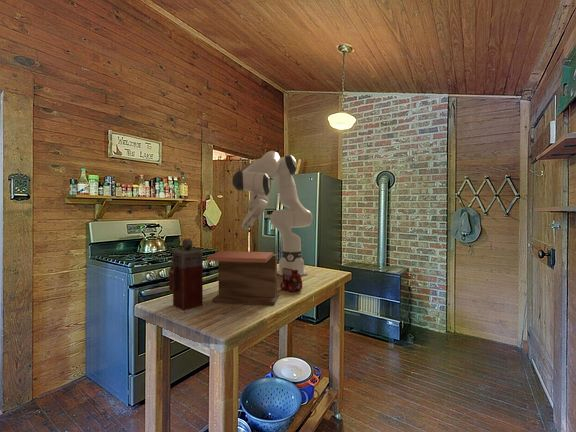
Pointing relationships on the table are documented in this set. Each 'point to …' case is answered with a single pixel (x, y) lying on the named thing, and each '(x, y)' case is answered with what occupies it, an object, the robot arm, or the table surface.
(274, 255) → the wooden box
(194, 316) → the table surface
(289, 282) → the dark red lumpy cluster
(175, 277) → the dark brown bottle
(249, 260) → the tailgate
